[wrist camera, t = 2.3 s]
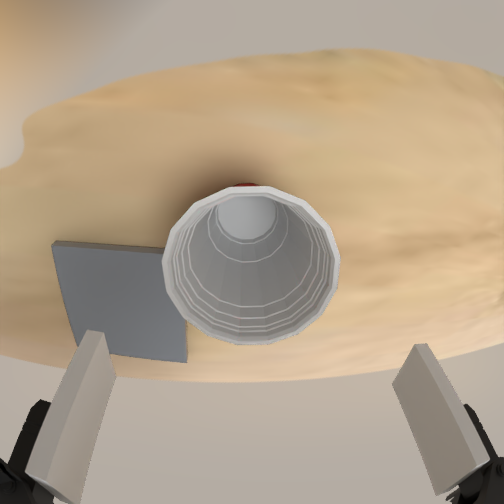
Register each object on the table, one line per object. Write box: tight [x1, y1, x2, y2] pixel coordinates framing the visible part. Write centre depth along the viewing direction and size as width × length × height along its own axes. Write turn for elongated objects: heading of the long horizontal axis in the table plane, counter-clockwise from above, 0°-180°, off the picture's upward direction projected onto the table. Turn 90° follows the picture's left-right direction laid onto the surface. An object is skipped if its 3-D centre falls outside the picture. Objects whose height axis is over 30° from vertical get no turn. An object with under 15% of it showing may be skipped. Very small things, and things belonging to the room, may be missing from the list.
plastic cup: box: [162, 183, 341, 345], centre depth 23 cm, size 11×11×12 cm
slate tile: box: [51, 241, 188, 363], centre depth 32 cm, size 15×15×1 cm
